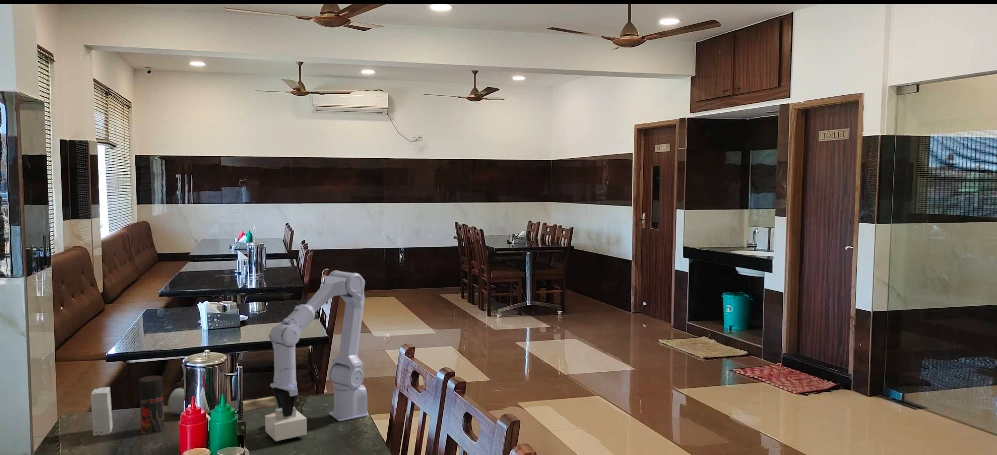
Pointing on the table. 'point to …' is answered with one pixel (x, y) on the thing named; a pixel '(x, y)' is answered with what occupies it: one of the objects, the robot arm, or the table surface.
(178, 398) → the grey rounded block
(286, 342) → the robot arm
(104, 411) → the skincare box
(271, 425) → the white box with knob
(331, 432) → the table surface
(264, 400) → the stopper bar
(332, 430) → the table surface
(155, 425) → the deodorant
